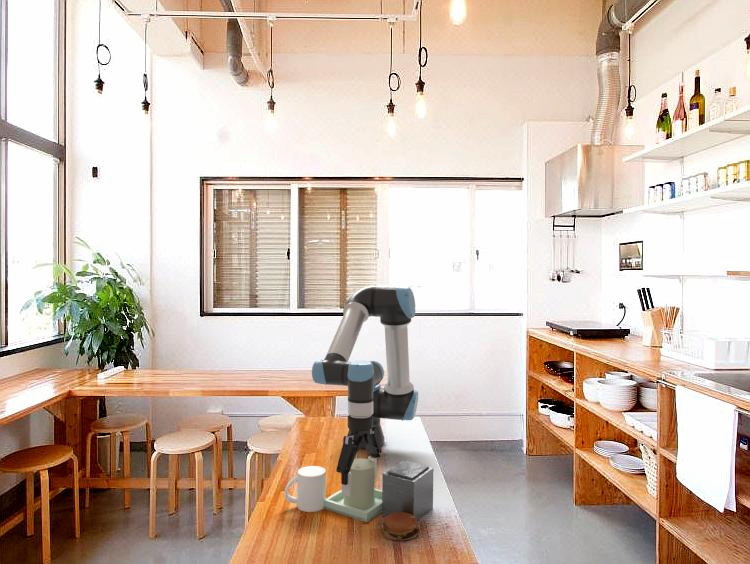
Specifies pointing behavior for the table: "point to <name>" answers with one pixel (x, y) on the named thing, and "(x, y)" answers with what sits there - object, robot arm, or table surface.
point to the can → (361, 484)
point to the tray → (365, 515)
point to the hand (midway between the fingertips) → (359, 486)
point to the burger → (400, 526)
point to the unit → (408, 489)
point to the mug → (309, 489)
